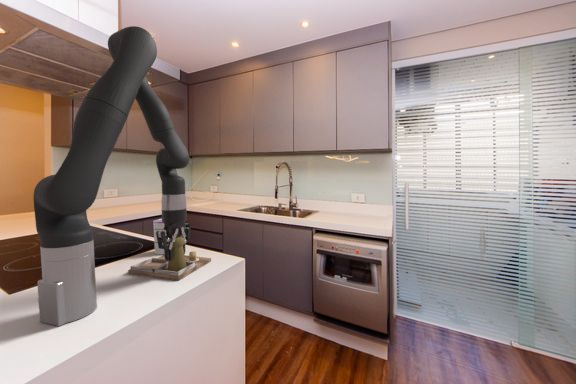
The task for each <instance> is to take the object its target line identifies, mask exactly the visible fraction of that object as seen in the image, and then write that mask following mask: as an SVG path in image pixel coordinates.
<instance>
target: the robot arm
mask: <svg viewBox="0 0 576 384" xmlns="http://www.w3.org/2000/svg"><path fill="white" fill-rule="evenodd" d="M107 48H108V51H109V54H110V56H111V58H112V60H113V61H112V64H111V65H110V66H109V68H108V69H107V70H106V71H104V73H103V74H102V76H100V77H99V79H97V81H96V82H95V83H94V84H93V85H92V86H91V87H90V89H89V90H88V92H87V93H86V95H85V96H84V98H83V100H82V102H81V104H80V107H79V108H78V110H77V112H76V115H75V118H74V121H73V127H72V137H71V144H70V147H69V150H68V152H67V154H66V156H65V158H64V160H63V162H62V163H61V164H60V167H59V169H57V171H56V173H55V174H51V175H48V176H46V177H44V178H42V179H41V180H39V182H37V184H36V185H35V187H34V190H33V210H34V211H33V212H34V220H35V230H36V233H37V236H38V239H39V245H40V247H39V248H40V263H41V278H42V279H38V281H37V297H38V310H39V313H38V315H39V322H40V323H45V324H49V325H52V326H55V327H56V326H57V327H60V326H62V325H64V324H67V323H70V322H74V321H78V320H80V319H82V318H85V317H86V316H89V315H90V314H92V313H93V312H94V311H95V310H97V308H98V304H97V302H98V301H97V285H96V284H97V283H96V281H97V280H96V279H97V278H96V265H95V263H96V262H95V246H94V245H95V243H94V229H93V228H92V226H91V225H90V223H89V220H88V216H87V215H88V214H87V210H88V209H90V208H91V206H92V205H93V204H94V203H95V201H96V198H97V196H98V193H99V189H100V185H101V183H102V182H101V181H102V178H103V176H104V171H105V168H106V165H107V163H108V161H109V158H110V156H111V154H112V152H113V150H114V148H115V145H116V144H117V141H118V139H119V137H120V136H121V135H120V134H121V133H122V131H123V129H124V126H125V124H126V122H127V119H128V117H129V114H130V111H131V110H132V106H133V105H134V103H135V100H136V103H137V104H138V106H139V109H140V111H141V113H142V115H143V118H144V120H145V123H146V125H147V128H148V131H149V133H150V135H151V138H152V139H153V141H155V142H158V143H160V144H162V148H161V149H159V150H158V151H157V153H156V157H155V162H156V163H155V164H156V168H157V171H158V175H159V178H160V180H161V203H160V204H161V219H162V222H163V223H164V229H163V230H161V231H157V232H156V236H157V241H158V247H159V249H164V256H165V260H167V261H171V260H172V245H173V243H174V242H175V239H176V238H177V237H183V238H184V245H183V250H184V255H186V244H187V242H188V241H190V239H191V229H192V223H186V222H187V220H188V219H187V217H188V215H187V213H188V212H187V196H186V181H185V178H184V177H182V176H180V175H179V174H178V170H182V169H184V168H186V167H187V166H188V165H189V163H190V155H189V151H188V148H187V147H186V146H185V144H184V143H183V141H182V140H181V138H180V136H179V134H177V132H176V129H175V126H174V124H173V121H172V118H171V116H170V113H169V111H168V109H167V106H166V105H165V104H164V103H163V101H162V100H161V99H160V98H159V96H158V95H157V94H156V92H155V91H154V90H153V88H152V86H151V85H150V83H149V81H148V78H147V74H148V73H149V71H150V69H151V68H152V66H153V65H154V63H155V61H156V59H157V55H158V48H157V43H156V41H155V39H154V37H153V35H152V34H151V33H150V32H149V31H148V30H147V29H145V28H144V27H140V26H136V25H135V26H134V25H133V26H131V25H130V26H127V27H124V28H121V29H120V30H118V31H115V32H114V33H112V34H111V35H110V36H109V38H108V39H107ZM168 238H171V239H168ZM168 242H169V246H168ZM162 243H163V245H162Z"/></svg>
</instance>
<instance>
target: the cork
mask: <svg viewBox="0 0 576 384" xmlns="http://www.w3.org/2000/svg"><path fill="white" fill-rule="evenodd" d="M169 239H171V238H169ZM183 245H184V238H183V237H177V238H176V239H175V242H174V243H173V245H172V260H171V261H168V269H167V270H168V271H176V272H178V271H180V270H182V269H184V268H185V267H187V266H186V260H185V255H186V254H184V250H183ZM168 246H169V242H168Z"/></svg>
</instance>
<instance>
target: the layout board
mask: <svg viewBox="0 0 576 384" xmlns="http://www.w3.org/2000/svg"><path fill="white" fill-rule="evenodd" d="M184 255H185V260H186V266H187V267H185V268H184V269H182V270H180V271H178V272H176V271H168V270H167V269H168V261H167V260H165V256H164V255H162V256H161V255H160V256H157V257H150V258H148V259H145V260H143V261H140V262H138V263H136V264H133V265H131V266H130V268H129V269H128V270H127V273H128V274H129V275H136V276H143V277H150V278H157V279H165V280H171V281H181V280H183V279H184V278H186V277H187V276H189V275H191V274H192V273H194V272H196V271H197V270H199V269H200V268H202V267H204V266H206V265H207V264H209V263H211V262H212V257H206V256H205V257H203V256H197V251H190V252H189V253H188V255H186V254H184Z"/></svg>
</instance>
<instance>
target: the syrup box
mask: <svg viewBox="0 0 576 384" xmlns="http://www.w3.org/2000/svg"><path fill="white" fill-rule="evenodd" d="M152 225H153V243H154V254H155V255H162V254H164V249H159V247H158V241H157V236H156V232H157V231H161V230H163V229H164V223H163V222H162V218H159V219H156V220H155V219H154V220H153V224H152ZM168 239H169V238H168ZM162 245H163V243H162Z"/></svg>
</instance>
